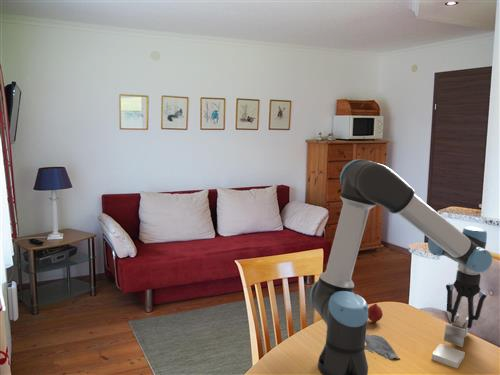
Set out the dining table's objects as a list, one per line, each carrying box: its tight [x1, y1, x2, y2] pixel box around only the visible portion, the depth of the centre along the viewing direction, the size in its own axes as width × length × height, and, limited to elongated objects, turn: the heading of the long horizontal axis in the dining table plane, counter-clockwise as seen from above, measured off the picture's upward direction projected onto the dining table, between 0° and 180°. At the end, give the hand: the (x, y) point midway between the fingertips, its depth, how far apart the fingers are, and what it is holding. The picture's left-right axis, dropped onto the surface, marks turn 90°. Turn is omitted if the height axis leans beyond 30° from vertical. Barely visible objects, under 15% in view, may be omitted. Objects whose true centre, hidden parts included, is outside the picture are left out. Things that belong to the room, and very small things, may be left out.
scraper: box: [443, 309, 471, 348], centre depth 160 cm, size 6×18×6 cm, turn 142°
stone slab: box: [364, 333, 400, 361], centre depth 154 cm, size 18×2×10 cm
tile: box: [431, 343, 466, 369], centre depth 149 cm, size 8×2×9 cm
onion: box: [368, 302, 384, 324], centre depth 171 cm, size 6×6×8 cm
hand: (459, 333), depth 160 cm, fingers closed on scraper, 3 cm apart
